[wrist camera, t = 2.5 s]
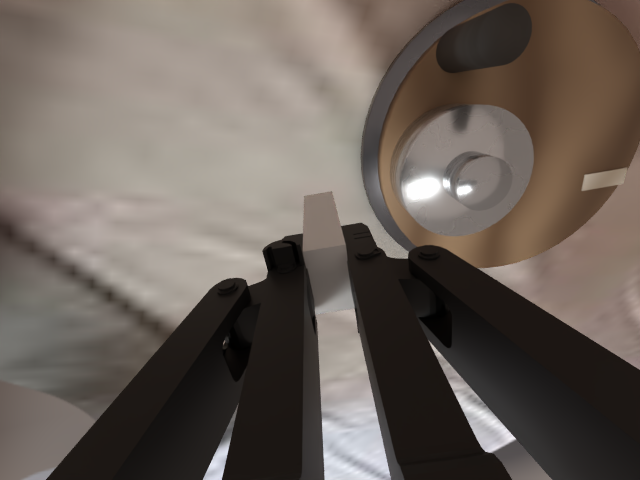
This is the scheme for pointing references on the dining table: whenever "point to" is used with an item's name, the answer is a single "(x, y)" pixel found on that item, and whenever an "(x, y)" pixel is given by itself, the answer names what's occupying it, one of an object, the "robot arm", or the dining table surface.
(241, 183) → the dining table surface
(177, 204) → the dining table surface
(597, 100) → the platter
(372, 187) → the turntable base
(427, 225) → the cover
